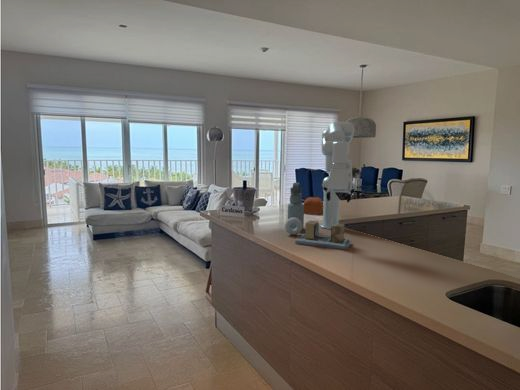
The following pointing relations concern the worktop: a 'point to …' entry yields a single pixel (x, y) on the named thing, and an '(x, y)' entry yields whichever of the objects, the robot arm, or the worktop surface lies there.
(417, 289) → the worktop surface
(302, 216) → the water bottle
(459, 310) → the worktop surface
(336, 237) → the tan wooden block
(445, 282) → the worktop surface
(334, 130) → the robot arm
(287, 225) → the donut
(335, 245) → the rail
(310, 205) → the bread
